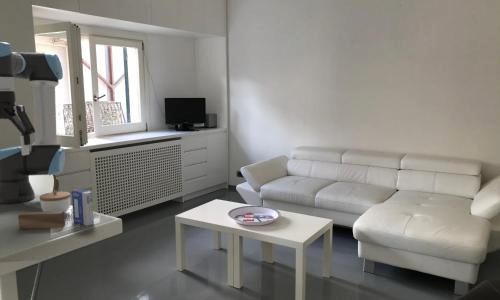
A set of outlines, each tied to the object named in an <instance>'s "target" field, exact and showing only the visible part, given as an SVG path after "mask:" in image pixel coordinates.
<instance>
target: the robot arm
mask: <svg viewBox="0 0 500 300" xmlns="http://www.w3.org/2000/svg"><path fill="white" fill-rule="evenodd" d="M63 76H64V74H63V66H62V63H61V60H60V58H59V56H58V55H57V54H56V53H55V52H46V51H41V52H40V51H39V52H37V51H36V52H31V51H29V52H26V51H25V52H24V51H13V50H12V46H11V44H10V43H8V42H3V41H0V120H1V119H3V120H9V121H10V122H11V123H12V124H13V125H14V126H15V128H16V129H17V131H19V132H20V134H21V135H19V137H20V146H19V145H18V146H12V147H7V148H3V149H0V204H1V205H2V204H3V205H4V204H6V205H7V204H8V205H9V204H17V203H24V202H28V201H31V200H33V199H35V198H36V197H35V195H36V194H35V191H34V188H33V186H32V184H31V182H30V176H53V175H59V174H61V173H62V172H63V169H64V167H65V162H66V150H65V148H63V147H61V146H62V145H61V143H60V142H58V140H57V138H58V137H57V112H56V111H57V110H56V107H57V106H56V87H57V86H58V85H59V82H60V80H63ZM15 79H19V80H28V82H29V84H30V85H31V86H32V87H33V89H32V90H33V115H34V125H33V123H32V121H31V120H30V118H29V116H28V114H27V112H26V107H25V106H24V105H22V104H21V105H19V104H18V105H16V104H15V102H16V101H17V100H16V92H15V91H14V90H15V89H16V87H15ZM32 134H34V141H33V143H32V144H31V135H32ZM30 145H31V146H30ZM30 147H31V148H30Z"/></svg>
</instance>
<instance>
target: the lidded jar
mask: <svg viewBox="0 0 500 300" xmlns="http://www.w3.org/2000/svg"><path fill="white" fill-rule="evenodd" d="M71 197H72V193H70V192H68V191H57V190H53V191H52V192H46V193H43V194H41V195H40V196H39V202H40V208H41V209H42V212H53V211H64V213H65V214H66V213H67V212H68V210H69V208H70V207H71V201H72V198H71Z"/></svg>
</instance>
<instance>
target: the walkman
mask: <svg viewBox="0 0 500 300" xmlns="http://www.w3.org/2000/svg"><path fill="white" fill-rule="evenodd" d="M71 201H72V203H71V204H72V215H73V216H72V219H73V223H75V224H79V225H83V226H86V227H87V226H91V225H94V224H95V221H94V220H95V218H94V217H95V215H94V204H93V202H94V201H93V192H92V191H91V190H90V191H89V190H82V189H79V188H78V189H73V190H71Z"/></svg>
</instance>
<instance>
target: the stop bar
mask: <svg viewBox="0 0 500 300" xmlns="http://www.w3.org/2000/svg"><path fill="white" fill-rule="evenodd" d="M17 216H18V229H19V230H21V231H22V230H35V229H37V230H38V229H56V228H57V229H58V228H64V226H66V213H64V211H53V212H44V211H38V212H20V214H18V215H17Z"/></svg>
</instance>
